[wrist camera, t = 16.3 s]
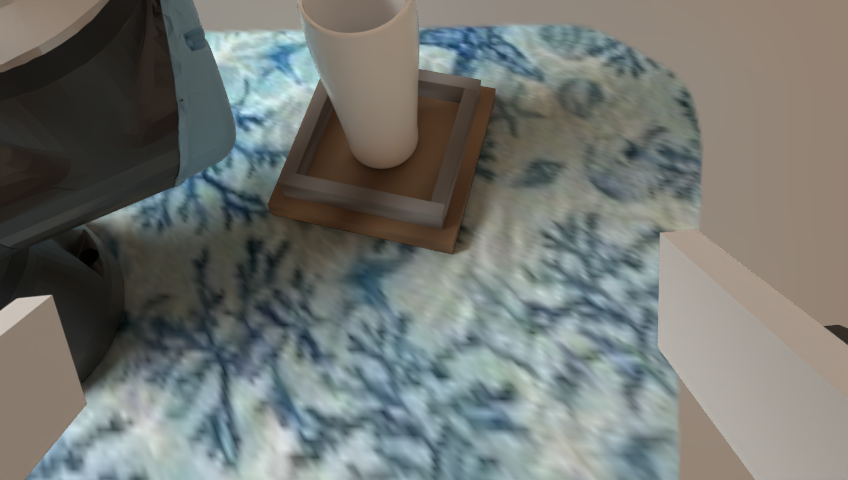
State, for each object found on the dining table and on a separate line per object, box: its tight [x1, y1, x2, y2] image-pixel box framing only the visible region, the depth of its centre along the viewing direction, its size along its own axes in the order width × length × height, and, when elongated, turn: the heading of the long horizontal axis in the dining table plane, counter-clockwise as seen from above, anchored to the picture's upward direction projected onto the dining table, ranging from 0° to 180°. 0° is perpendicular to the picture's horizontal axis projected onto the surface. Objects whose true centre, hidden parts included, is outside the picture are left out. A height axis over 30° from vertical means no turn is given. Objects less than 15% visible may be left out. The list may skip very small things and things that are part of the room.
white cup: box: [297, 0, 419, 169], centre depth 43 cm, size 7×7×15 cm
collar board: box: [268, 69, 496, 254], centre depth 50 cm, size 14×14×4 cm
